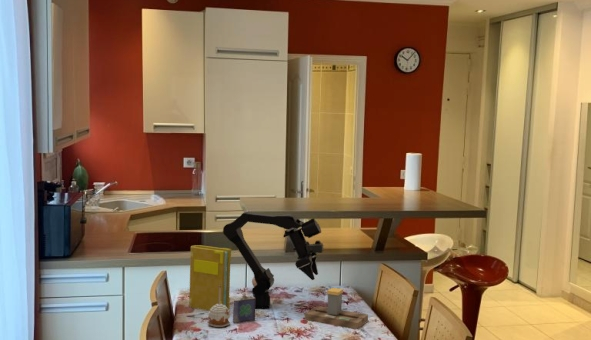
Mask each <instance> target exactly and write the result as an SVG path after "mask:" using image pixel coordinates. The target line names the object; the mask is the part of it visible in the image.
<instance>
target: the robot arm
mask: <svg viewBox="0 0 591 340" xmlns="http://www.w3.org/2000/svg"><path fill="white" fill-rule="evenodd" d="M247 223H255V224H266V225H272V226H273V225H274V226H276V227H279V228H282V229H285V230H284V234H283V236H282V237H283V238H286V237H288V238H289V240H290V241H291V242H290V243H291V244H292V246H293V248H292V250H293V251H294V252H295V253H296V255H297V260H296V261H295V263H294V265H295V267H296V269H298V270H300V271H301V272H302V273H303V274H304V275H305V276H307V277H308V278H309V279H310V280H311V281H314V280H315V276H318V275H319V271H318V268H317V267H318V265H317V258H318V255H319V254H321V253H323V252H324V242H321V241H320V239H319V240H315V243H310V241H307V240H306V238H308V239H310V238H312V237H315V236H317V235H319V234H322V229H321V226H320V224H319V223H318V222H317V221H316V219H315V217H313V218H311V219H309V220H307V221H305V222H303V221H302V220H300V219H298V218H297V216H296V215H295V214H294V213H283V214H269V213H267V214H266V213H258V212H257V213H256V212H250V211H244V212H242V213H241V215H240V216H239V217H237V218H236V219H235V220H233V221H231V222H229V223H226V224H225V225H224V226H223V228H222V233H223V236H225V238H227V240H228V241H229V242H231V243H232V244H234V245H235V246H236V248H237V250H238V251H239V253H240V254H241V256H242V257H243V259H244V261H245V262H246V264H247V265H248V267H249V268H250V270H251V271H252V274H253V277H255V281H256V283H257V285H256V286H255V287H254V286H253V288H252V289H251V292H252V297H255V298H256V305H255V310H257V309H258V310H259V309H261V310H262V309H270V305H271V295H270V292H269V290H270V289H271V288H272V287H273V285H274V284H275V283H274V282H275V278H274V277H275V275H274V274H273V273H272V272H271V269H270V268H264V267H263V266H262V264H261V263H260V261H259V260H258V257H257V256H256V255H255V253H254V252H253V250H252V249H251V247H250V246H249V245H248V243H247V241H246V240H245V238H244V233H243V230H242V228H243V227H244V226H245V225H246V224H247Z"/></svg>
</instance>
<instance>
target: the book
mask: <svg viewBox="0 0 591 340" xmlns="http://www.w3.org/2000/svg"><path fill="white" fill-rule="evenodd" d="M189 261H190V265H189V266H190V268H189V296H188V297H189V298H188V301H189V302H188V303H189V304H188V307H190V308H192V309H197V310H202V311H206V312H207V311H208V312H210V309H211V308H212V307H213V306H215V305H216V304H219V286H221V300H220V304H222V305H225V306H226V307H227V308H228V311H230V306H231V303H230V300H231V298H230V287H231V286H230V282H231V281H230V280H231V261H232V248H227V247H217V246H207V245H201V244H199V245H198V244H197V245H196V244H194V245H191V246H190V259H189Z"/></svg>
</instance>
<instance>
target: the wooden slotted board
mask: <svg viewBox="0 0 591 340" xmlns="http://www.w3.org/2000/svg"><path fill="white" fill-rule="evenodd" d="M327 308H328V307H325V306H319V305H317V306H315V307H313V308H312V309H310V310H308V311H307V312H305V313H304V320H305V321H310V322H315V323H321V324H326V325H332V326H337V327H342V328H343V327H344V328H347V329H354V330H359V329H360V328H361V327H362V326H364V325H365V324H366V323H367V322H368V321H369V314H365V313H361V312H354V311H348V310H344V309H343V310H342V309H341V313H339V315H332V314H327Z"/></svg>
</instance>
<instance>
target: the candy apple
mask: <svg viewBox="0 0 591 340" xmlns="http://www.w3.org/2000/svg"><path fill="white" fill-rule="evenodd" d="M220 300H221V286H219V304H216V305H215V306H213V307H212V308H211V309H210V311H208V314H207V315H208V317H207V319H209V321H207V323H208V326H211V327H216V328H224V327H226V326H229V325H230V324H231V323H230V320H229V319H230V317H231V313H230V312H231V311H230V310H228V308H227V307H226V306H225V305H222V304H220Z"/></svg>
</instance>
